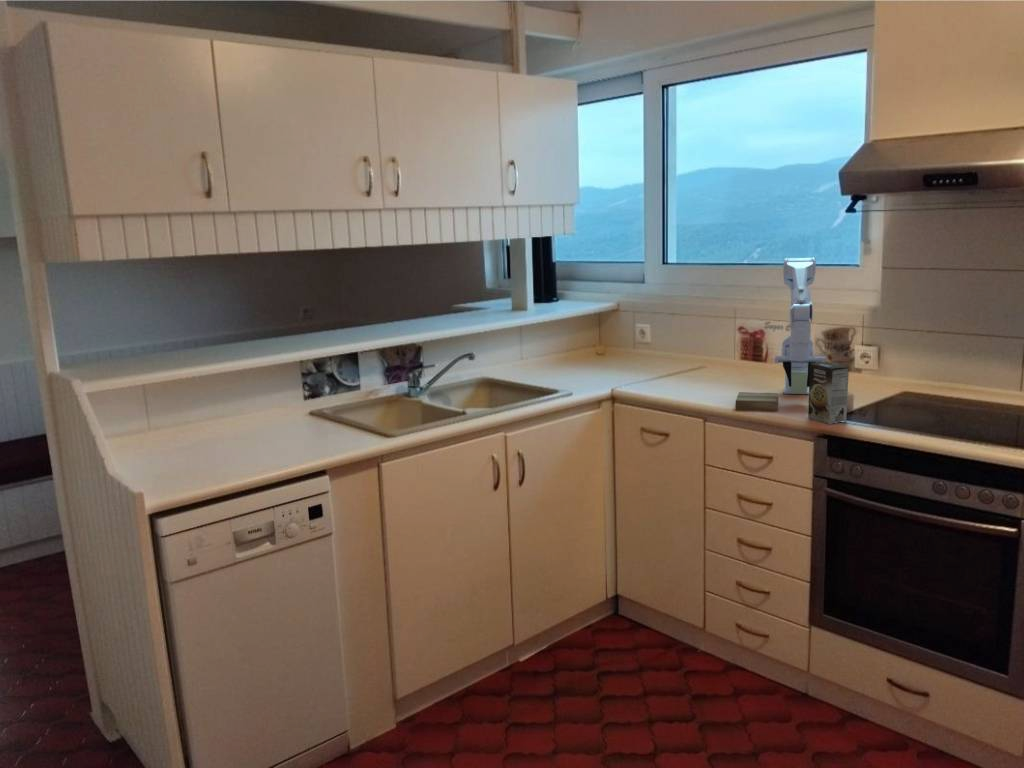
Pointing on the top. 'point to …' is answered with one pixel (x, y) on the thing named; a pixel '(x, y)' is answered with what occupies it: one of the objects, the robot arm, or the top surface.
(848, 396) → the tan round piece
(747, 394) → the walnut base
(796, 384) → the sage block
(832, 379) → the coffee box
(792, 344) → the robot arm
